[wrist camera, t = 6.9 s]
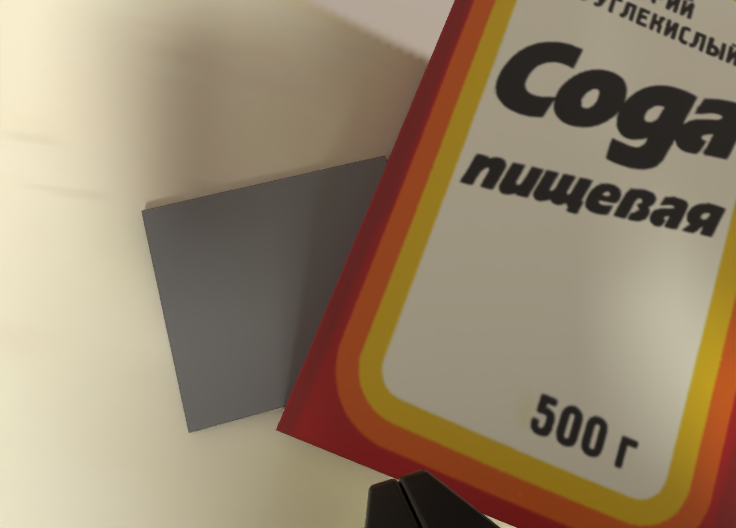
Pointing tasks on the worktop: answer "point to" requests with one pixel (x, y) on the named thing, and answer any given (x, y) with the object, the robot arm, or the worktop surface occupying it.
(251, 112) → the worktop surface
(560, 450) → the baking soda box
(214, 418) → the mat
